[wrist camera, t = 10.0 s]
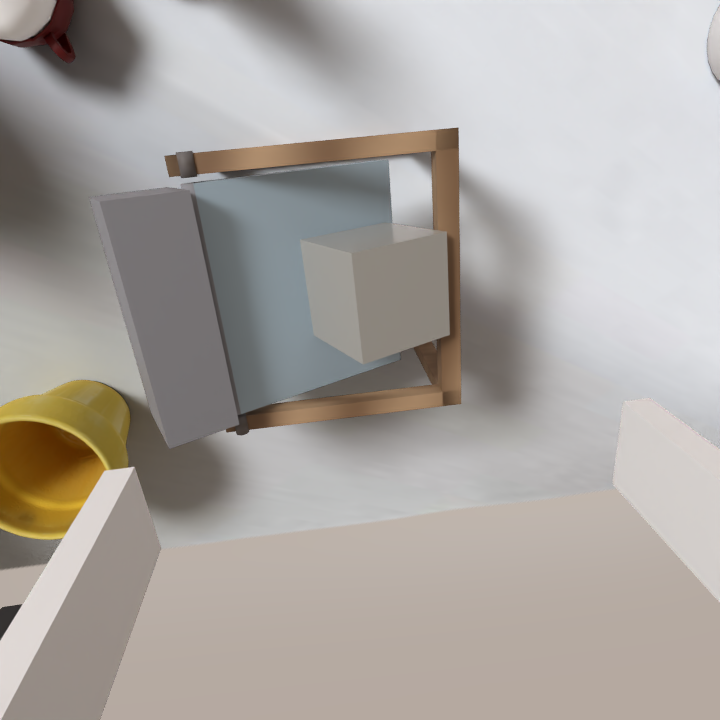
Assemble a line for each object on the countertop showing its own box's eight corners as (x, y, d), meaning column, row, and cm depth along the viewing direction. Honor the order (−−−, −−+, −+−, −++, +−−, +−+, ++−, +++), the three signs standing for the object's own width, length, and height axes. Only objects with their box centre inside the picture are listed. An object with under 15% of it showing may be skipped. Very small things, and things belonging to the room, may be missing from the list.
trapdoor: (152, 416, 32) (170, 452, 28) (87, 193, 26) (98, 196, 22) (373, 346, 39) (413, 365, 35) (358, 160, 34) (402, 159, 30)
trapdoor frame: (248, 359, 43) (225, 437, 32) (208, 150, 36) (161, 153, 25) (423, 339, 44) (462, 408, 32) (414, 130, 37) (460, 125, 26)
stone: (313, 335, 32) (363, 364, 27) (299, 239, 30) (351, 253, 25) (392, 311, 35) (449, 334, 30) (385, 222, 32) (446, 231, 27)
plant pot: (167, 380, 43) (130, 442, 34) (139, 476, 47) (98, 555, 38) (37, 340, 41) (-40, 396, 32) (18, 445, 44) (-57, 521, 35)
